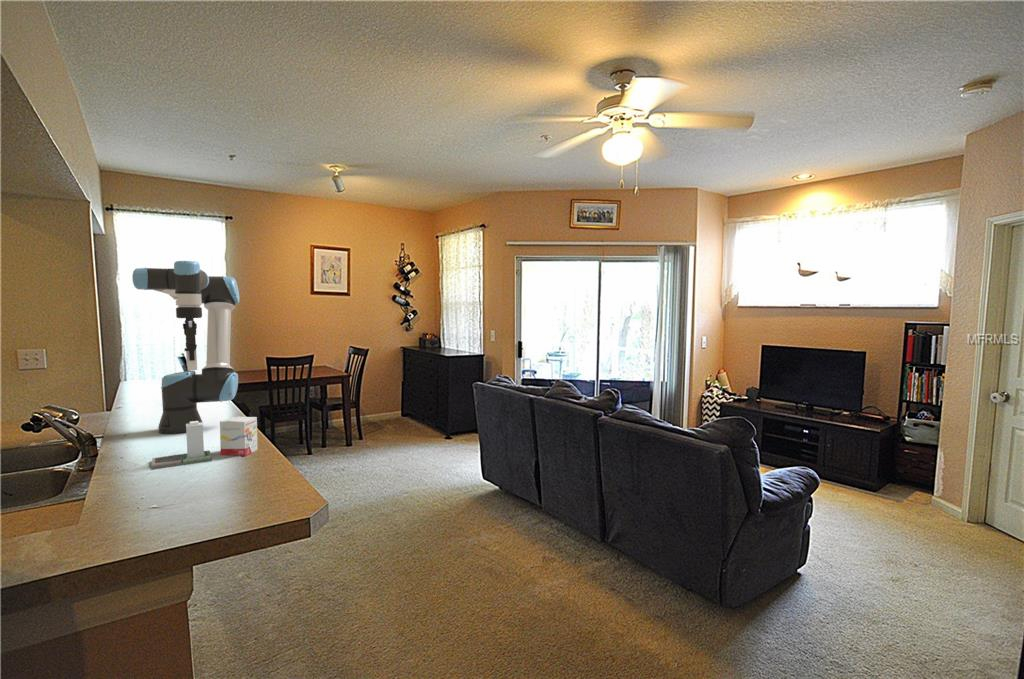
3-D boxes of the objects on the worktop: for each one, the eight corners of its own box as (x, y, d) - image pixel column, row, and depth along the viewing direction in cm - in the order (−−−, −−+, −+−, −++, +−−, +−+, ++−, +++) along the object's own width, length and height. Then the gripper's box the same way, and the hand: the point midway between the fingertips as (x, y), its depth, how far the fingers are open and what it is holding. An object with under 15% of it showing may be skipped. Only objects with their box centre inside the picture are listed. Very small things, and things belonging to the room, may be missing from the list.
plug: (187, 457, 167) (185, 421, 166) (203, 455, 170) (202, 419, 169) (187, 460, 163) (186, 424, 163) (204, 458, 166) (202, 422, 165)
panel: (152, 460, 166) (152, 456, 165) (209, 452, 174) (209, 448, 174) (150, 471, 155) (150, 466, 155) (212, 462, 163) (211, 457, 163)
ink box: (245, 456, 170) (244, 421, 169) (219, 456, 170) (218, 421, 169) (258, 449, 178) (257, 415, 178) (234, 449, 179) (233, 415, 178)
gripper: (175, 306, 184) (178, 365, 186) (175, 306, 163) (179, 373, 165) (200, 306, 188) (202, 363, 190) (203, 306, 167) (206, 371, 169)
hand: (191, 368), depth 177 cm, fingers open, 13 cm apart
